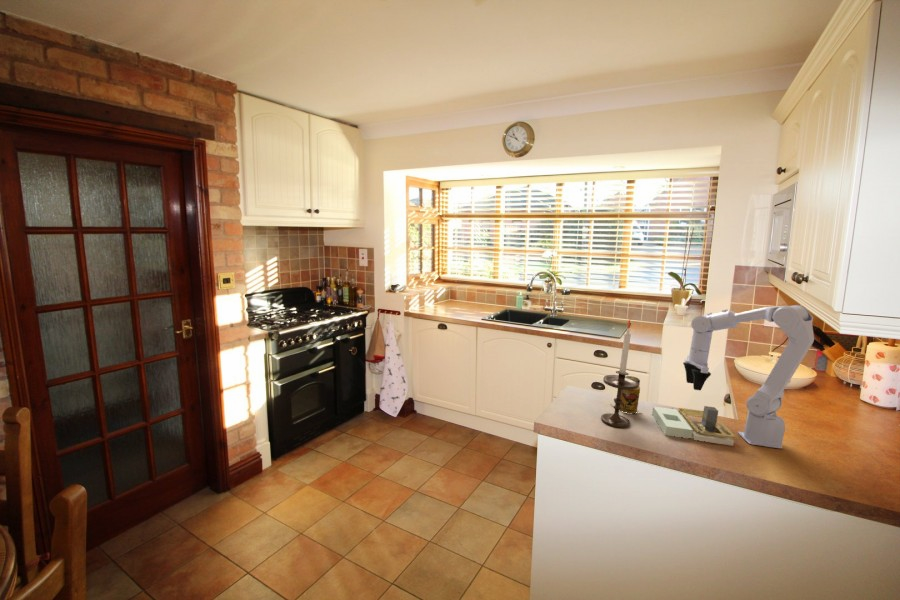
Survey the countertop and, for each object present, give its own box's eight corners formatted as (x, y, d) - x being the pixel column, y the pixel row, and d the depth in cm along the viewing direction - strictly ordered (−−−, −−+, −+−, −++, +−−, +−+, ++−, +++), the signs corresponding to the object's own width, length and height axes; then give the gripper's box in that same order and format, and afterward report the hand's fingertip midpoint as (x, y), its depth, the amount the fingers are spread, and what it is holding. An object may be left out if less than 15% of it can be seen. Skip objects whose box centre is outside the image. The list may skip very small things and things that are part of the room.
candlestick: (603, 411, 150) (616, 314, 145) (635, 421, 145) (651, 319, 139) (594, 422, 142) (607, 318, 136) (628, 432, 136) (644, 324, 130)
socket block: (718, 429, 142) (719, 423, 142) (733, 445, 132) (734, 438, 131) (682, 424, 144) (683, 418, 144) (694, 440, 134) (695, 432, 133)
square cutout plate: (675, 417, 150) (676, 409, 149) (691, 438, 134) (692, 430, 134) (651, 414, 151) (653, 406, 151) (665, 435, 136) (666, 426, 135)
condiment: (625, 414, 150) (630, 382, 148) (610, 404, 157) (614, 373, 155) (642, 413, 152) (647, 381, 150) (626, 403, 160) (631, 372, 158)
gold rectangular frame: (712, 417, 147) (713, 412, 147) (735, 441, 130) (736, 435, 130) (678, 413, 149) (678, 407, 149) (696, 436, 132) (697, 430, 132)
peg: (715, 431, 141) (719, 405, 140) (725, 442, 133) (730, 415, 132) (688, 427, 143) (693, 401, 141) (697, 438, 135) (702, 411, 133)
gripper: (680, 342, 158) (674, 378, 160) (694, 353, 144) (688, 392, 146) (701, 345, 156) (695, 380, 159) (717, 356, 142) (711, 394, 145)
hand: (693, 386), depth 152 cm, fingers open, 6 cm apart
